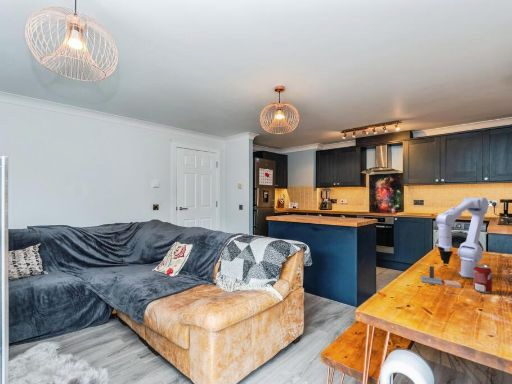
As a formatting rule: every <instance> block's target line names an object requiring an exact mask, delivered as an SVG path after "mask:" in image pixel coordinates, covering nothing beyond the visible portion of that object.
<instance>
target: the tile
mask: <svg viewBox="0 0 512 384" xmlns="http://www.w3.org/2000/svg"><path fill="white" fill-rule="evenodd" d="M443 283H444V284H445V286H446V287H448V288H449V287H450V288H457V289H462V284H461V283H460V281H458V280H457V281H456V280H448V279H447V280H446V279H444V280H443Z"/></svg>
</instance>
